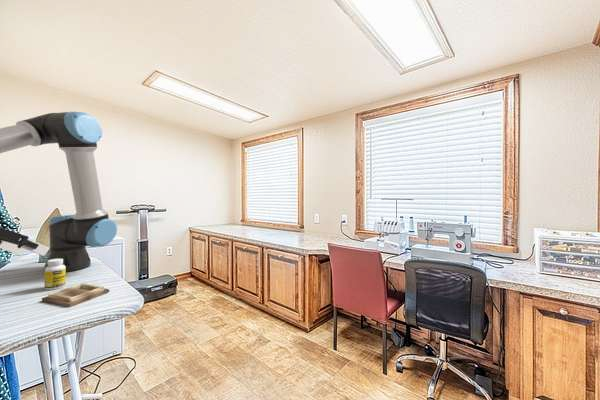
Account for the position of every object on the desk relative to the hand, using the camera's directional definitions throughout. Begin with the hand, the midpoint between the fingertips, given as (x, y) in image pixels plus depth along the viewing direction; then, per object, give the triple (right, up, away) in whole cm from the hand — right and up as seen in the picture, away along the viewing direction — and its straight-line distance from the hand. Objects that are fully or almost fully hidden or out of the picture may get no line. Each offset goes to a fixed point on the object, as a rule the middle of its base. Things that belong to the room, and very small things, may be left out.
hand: (35, 252), depth 86 cm
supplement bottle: (+1, -14, +6) cm, 15 cm away
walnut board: (+14, -14, -1) cm, 20 cm away
